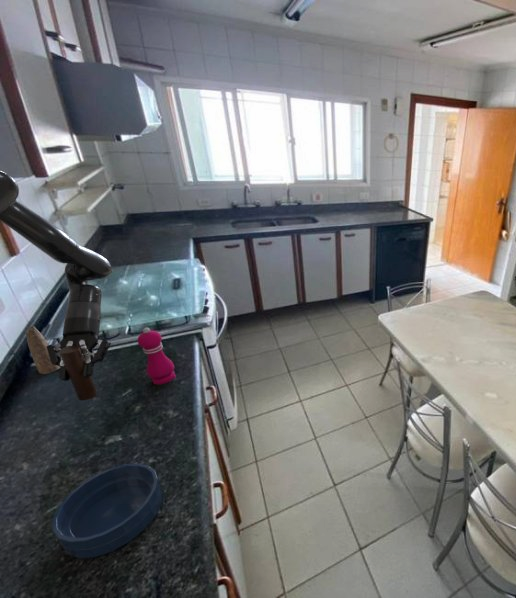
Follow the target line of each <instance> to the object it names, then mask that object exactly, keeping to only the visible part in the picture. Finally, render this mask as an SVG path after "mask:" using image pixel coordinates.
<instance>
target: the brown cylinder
mask: <svg viewBox="0 0 516 598" xmlns="http://www.w3.org/2000/svg"><path fill="white" fill-rule="evenodd" d="M59 353H60V356H61V359H62V361H63V363H64V365H65V368H66V370H67V372H68V375H69V377H70V378H69V381H70V382H71V384H72V387H73V389H74V391H75V393H76V396H77V398H78V400H79V401H88V400H91V399H93V398H95V397H96V396H97V395H98V391H97V389H96V386H95V384H94V382H93V379H92V375H91V376H90V378H83V370H84V364H86V362H85V358H84V356H83V354H82V353H81V350H80V347H79V346H76V345H74V346H68V347H65V348H63V347H62V348H61V350H60V351H59Z"/></svg>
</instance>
